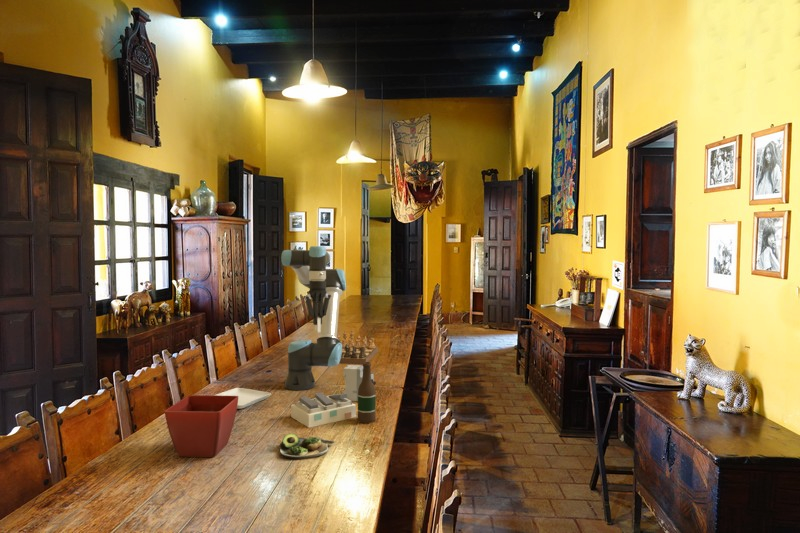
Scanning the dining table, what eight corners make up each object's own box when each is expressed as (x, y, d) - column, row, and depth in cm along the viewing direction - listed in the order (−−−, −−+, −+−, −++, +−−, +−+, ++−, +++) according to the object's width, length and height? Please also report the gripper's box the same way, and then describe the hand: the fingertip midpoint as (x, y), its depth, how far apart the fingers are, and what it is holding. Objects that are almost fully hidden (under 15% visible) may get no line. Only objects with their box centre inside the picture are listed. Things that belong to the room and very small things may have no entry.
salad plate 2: (332, 438, 196) (332, 426, 196) (337, 457, 179) (337, 444, 179) (279, 442, 192) (279, 430, 192) (279, 462, 175) (279, 449, 174)
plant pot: (188, 439, 193) (188, 394, 193) (239, 440, 193) (239, 395, 192) (163, 460, 174) (163, 411, 174) (220, 462, 174) (219, 412, 173)
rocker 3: (329, 399, 226) (328, 395, 226) (335, 398, 228) (335, 394, 228) (340, 398, 218) (340, 395, 219) (347, 397, 220) (346, 393, 221)
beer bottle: (378, 418, 218) (379, 361, 217) (371, 424, 210) (372, 365, 209) (361, 416, 220) (361, 359, 219) (354, 422, 213) (354, 363, 212)
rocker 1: (299, 401, 218) (299, 397, 217) (306, 399, 220) (306, 396, 219) (310, 409, 210) (310, 405, 210) (317, 408, 212) (318, 404, 212)
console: (291, 416, 219) (291, 401, 219) (336, 407, 232) (336, 392, 232) (309, 427, 206) (309, 411, 206) (356, 416, 219) (356, 401, 219)
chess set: (321, 349, 359) (320, 328, 358) (378, 351, 353) (378, 329, 352) (301, 362, 319) (301, 338, 319) (365, 365, 314) (365, 340, 313)
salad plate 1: (272, 399, 244) (272, 392, 244) (241, 412, 225) (241, 404, 225) (237, 393, 253) (237, 386, 253) (204, 406, 234) (204, 398, 234)
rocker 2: (314, 396, 222) (315, 393, 222) (321, 395, 224) (321, 392, 223) (326, 407, 214) (326, 404, 214) (332, 406, 216) (333, 402, 216)
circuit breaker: (372, 402, 239) (373, 370, 239) (343, 400, 242) (343, 368, 242) (376, 397, 247) (377, 366, 246) (347, 395, 250) (347, 364, 249)
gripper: (308, 281, 231) (308, 334, 232) (334, 280, 238) (334, 331, 239) (300, 280, 236) (300, 331, 238) (326, 279, 244) (326, 329, 245)
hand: (317, 331), depth 239 cm, fingers closed
